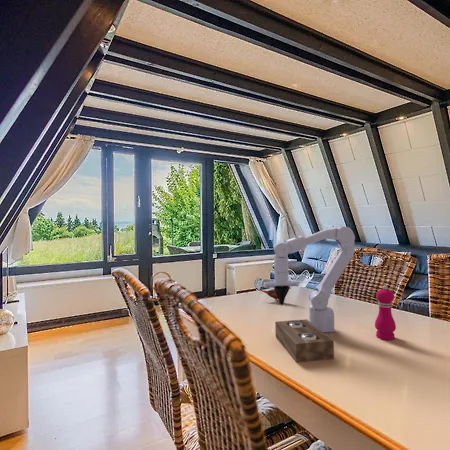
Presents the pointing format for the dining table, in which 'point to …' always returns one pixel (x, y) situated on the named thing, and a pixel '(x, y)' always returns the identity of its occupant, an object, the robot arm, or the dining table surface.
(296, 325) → the knob
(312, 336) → the knob
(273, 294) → the decorative bird figurine
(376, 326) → the pepper mill
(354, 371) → the dining table surface
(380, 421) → the dining table surface
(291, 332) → the housing
